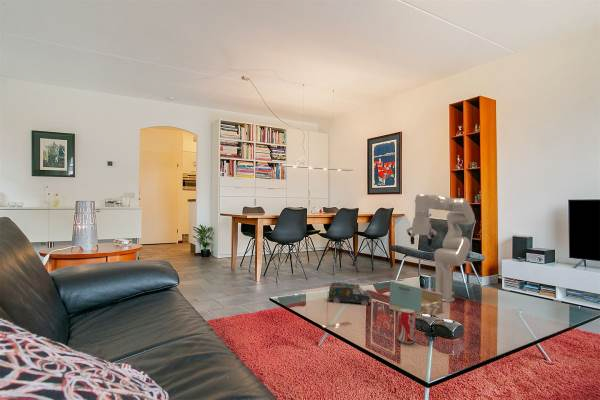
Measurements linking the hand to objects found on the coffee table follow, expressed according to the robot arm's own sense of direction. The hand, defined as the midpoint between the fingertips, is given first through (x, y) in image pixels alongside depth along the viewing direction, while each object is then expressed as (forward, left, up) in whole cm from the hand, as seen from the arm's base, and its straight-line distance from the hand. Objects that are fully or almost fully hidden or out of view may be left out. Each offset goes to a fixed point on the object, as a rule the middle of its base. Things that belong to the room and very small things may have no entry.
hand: (420, 244), depth 191 cm
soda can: (+50, +26, -36) cm, 67 cm away
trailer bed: (+9, +3, -35) cm, 37 cm away
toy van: (+28, -29, -36) cm, 54 cm away
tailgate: (+20, +3, -32) cm, 38 cm away
